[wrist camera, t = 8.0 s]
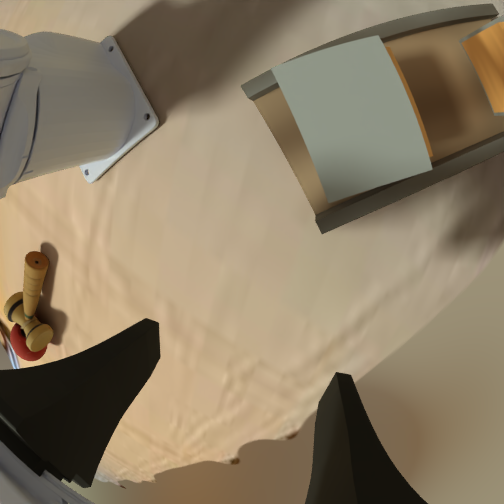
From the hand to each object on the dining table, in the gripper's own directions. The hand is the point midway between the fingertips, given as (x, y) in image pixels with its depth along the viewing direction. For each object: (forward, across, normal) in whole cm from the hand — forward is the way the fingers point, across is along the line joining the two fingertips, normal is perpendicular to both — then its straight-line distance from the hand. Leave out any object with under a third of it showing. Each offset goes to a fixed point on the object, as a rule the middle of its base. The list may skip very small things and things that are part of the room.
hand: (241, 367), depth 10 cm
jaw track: (+9, -6, -13) cm, 17 cm away
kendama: (+10, +27, +14) cm, 32 cm away
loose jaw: (+8, -2, -10) cm, 13 cm away
